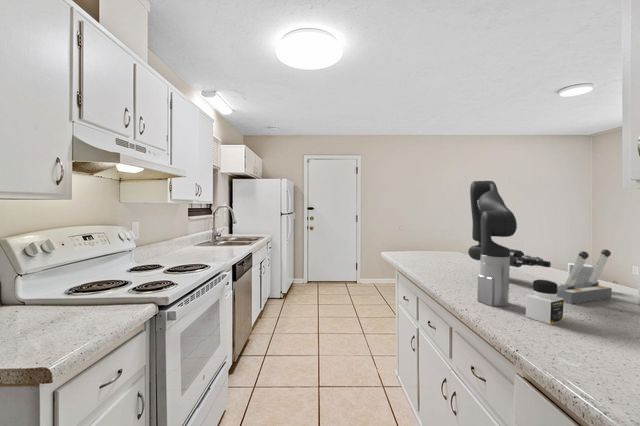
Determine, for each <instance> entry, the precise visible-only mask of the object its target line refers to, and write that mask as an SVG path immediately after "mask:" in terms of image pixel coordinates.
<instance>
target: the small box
mask: <svg viewBox="0 0 640 426" xmlns="http://www.w3.org/2000/svg"><path fill="white" fill-rule="evenodd" d="M574 264H575V262H574V263H572V262H568V263H567V279H568V277H569V275H570V273H571V271H572V269H573V266H574ZM594 268H595V266H593V265H592V264H585V263H584V265H583V267H582V269H581V271H580V273H579V275H578V277H577V279H576V281H575V283H574V284H583V283H584V282H588V281H589V279H590V277H591V275H592V272H593V270H594ZM567 279H566V280H567Z"/></svg>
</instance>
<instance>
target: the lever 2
mask: <svg viewBox="0 0 640 426" xmlns="http://www.w3.org/2000/svg"><path fill="white" fill-rule="evenodd" d="M611 255H612V252H611V251H610V250H608V249H602V250H601V251H600V256H599V257H598V259H597V261H596V264H595V266H594V270H593V272H592V275H591V277H590V279H589V281H588V282H590V283H592V286H595V285H596V283H597V282H599V278H600V276H601V274H602V271H603V270H604V268H605V266H606V263H607V261H608V259H609V257H610V256H611Z"/></svg>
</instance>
